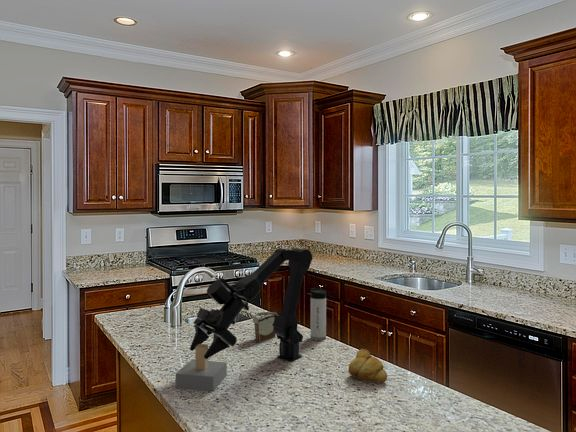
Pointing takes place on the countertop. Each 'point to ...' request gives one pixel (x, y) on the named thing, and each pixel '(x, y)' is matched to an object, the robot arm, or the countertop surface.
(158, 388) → the countertop surface
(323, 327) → the travel mug
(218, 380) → the cover
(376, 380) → the bread roll
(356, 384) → the countertop surface
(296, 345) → the robot arm
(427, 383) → the countertop surface
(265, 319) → the food container
